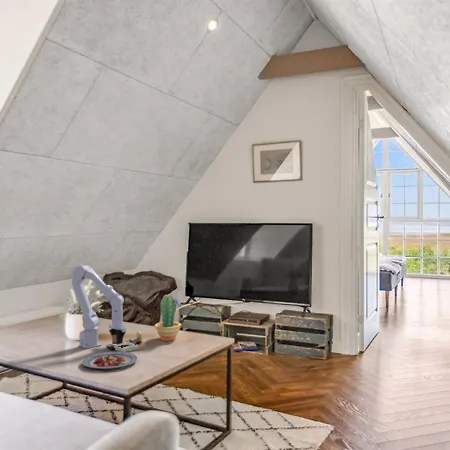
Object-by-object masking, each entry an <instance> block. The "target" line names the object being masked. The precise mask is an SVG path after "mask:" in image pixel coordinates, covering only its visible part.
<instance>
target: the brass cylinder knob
mask: <svg viewBox="0 0 450 450" xmlns="http://www.w3.org/2000/svg"><path fill="white" fill-rule="evenodd" d="M128 341H129V342H134V341H136V342H138V341H142V331H137V332H136V338H129V339H128Z"/></svg>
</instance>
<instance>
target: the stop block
mask: <svg viewBox="0 0 450 450" xmlns="http://www.w3.org/2000/svg"><path fill="white" fill-rule="evenodd" d="M111 341H112V342H111V343H112V344H118V343H117V336H116V335H112V336H111ZM123 341H124V340H122V343H124V342H123Z"/></svg>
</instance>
